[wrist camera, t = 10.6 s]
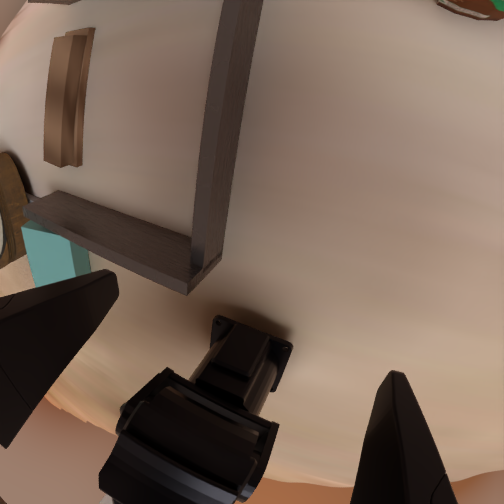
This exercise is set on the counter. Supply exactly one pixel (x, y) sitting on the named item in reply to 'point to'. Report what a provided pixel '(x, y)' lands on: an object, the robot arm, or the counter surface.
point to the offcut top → (62, 99)
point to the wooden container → (11, 212)
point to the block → (53, 255)
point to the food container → (475, 8)
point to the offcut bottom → (81, 95)
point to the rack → (207, 187)
